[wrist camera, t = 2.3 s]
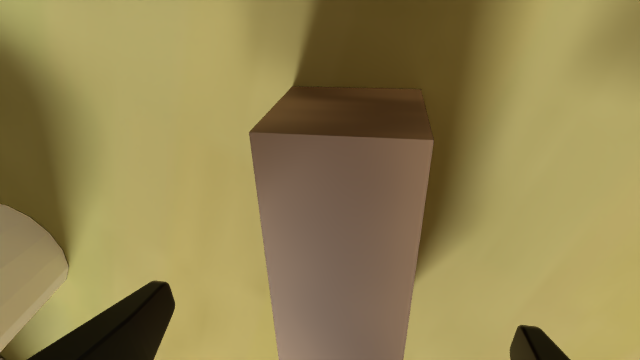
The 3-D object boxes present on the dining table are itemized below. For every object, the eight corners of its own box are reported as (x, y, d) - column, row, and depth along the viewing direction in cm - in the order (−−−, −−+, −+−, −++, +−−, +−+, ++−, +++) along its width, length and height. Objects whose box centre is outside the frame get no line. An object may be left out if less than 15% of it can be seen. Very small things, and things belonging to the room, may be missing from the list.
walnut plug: (308, 333, 17) (287, 421, 14) (292, 86, 11) (249, 132, 8) (391, 345, 17) (391, 440, 13) (420, 89, 11) (433, 140, 7)
